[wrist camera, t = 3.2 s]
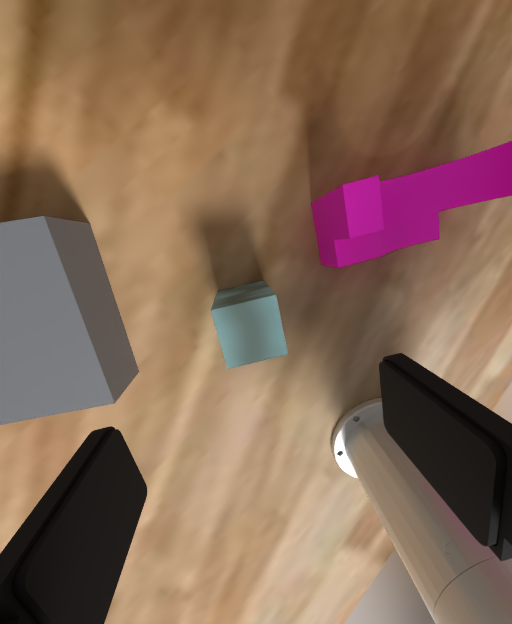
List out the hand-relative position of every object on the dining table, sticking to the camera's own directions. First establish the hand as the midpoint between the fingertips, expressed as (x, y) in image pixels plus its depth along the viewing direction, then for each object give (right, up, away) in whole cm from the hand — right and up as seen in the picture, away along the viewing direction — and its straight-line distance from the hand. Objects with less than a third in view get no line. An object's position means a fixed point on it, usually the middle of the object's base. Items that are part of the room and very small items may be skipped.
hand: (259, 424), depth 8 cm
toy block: (+13, +14, +17) cm, 26 cm away
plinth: (-21, +4, +16) cm, 27 cm away
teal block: (-1, +4, +18) cm, 18 cm away
